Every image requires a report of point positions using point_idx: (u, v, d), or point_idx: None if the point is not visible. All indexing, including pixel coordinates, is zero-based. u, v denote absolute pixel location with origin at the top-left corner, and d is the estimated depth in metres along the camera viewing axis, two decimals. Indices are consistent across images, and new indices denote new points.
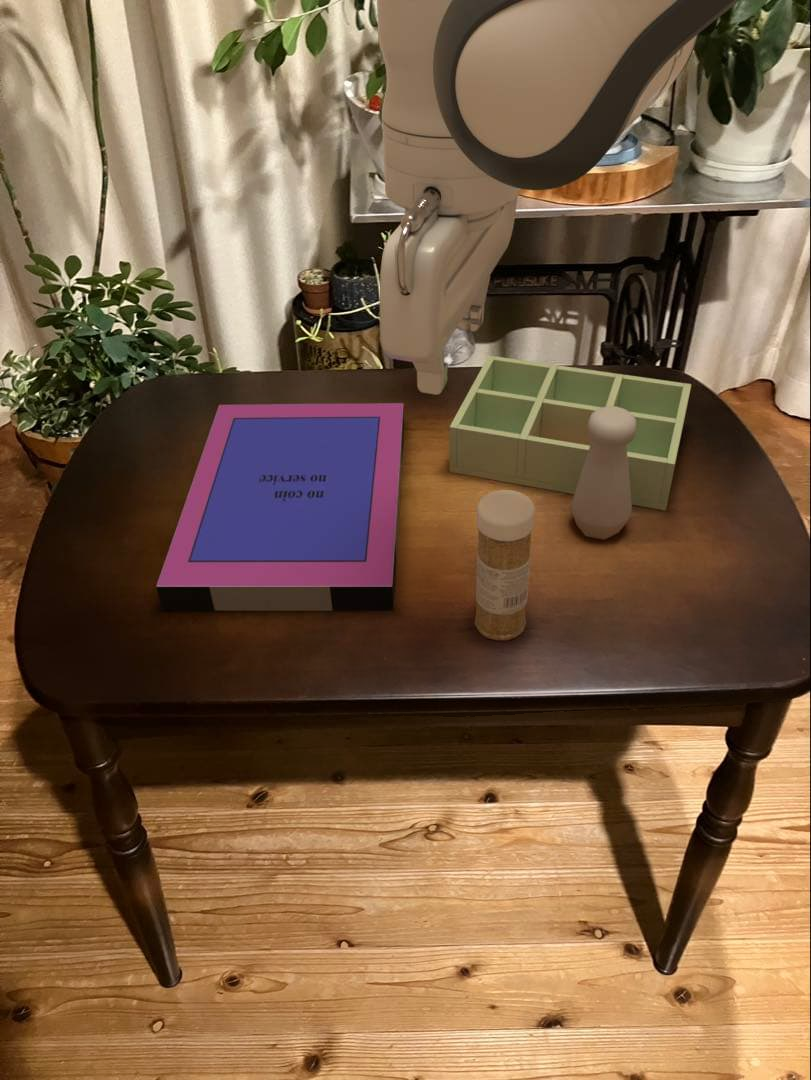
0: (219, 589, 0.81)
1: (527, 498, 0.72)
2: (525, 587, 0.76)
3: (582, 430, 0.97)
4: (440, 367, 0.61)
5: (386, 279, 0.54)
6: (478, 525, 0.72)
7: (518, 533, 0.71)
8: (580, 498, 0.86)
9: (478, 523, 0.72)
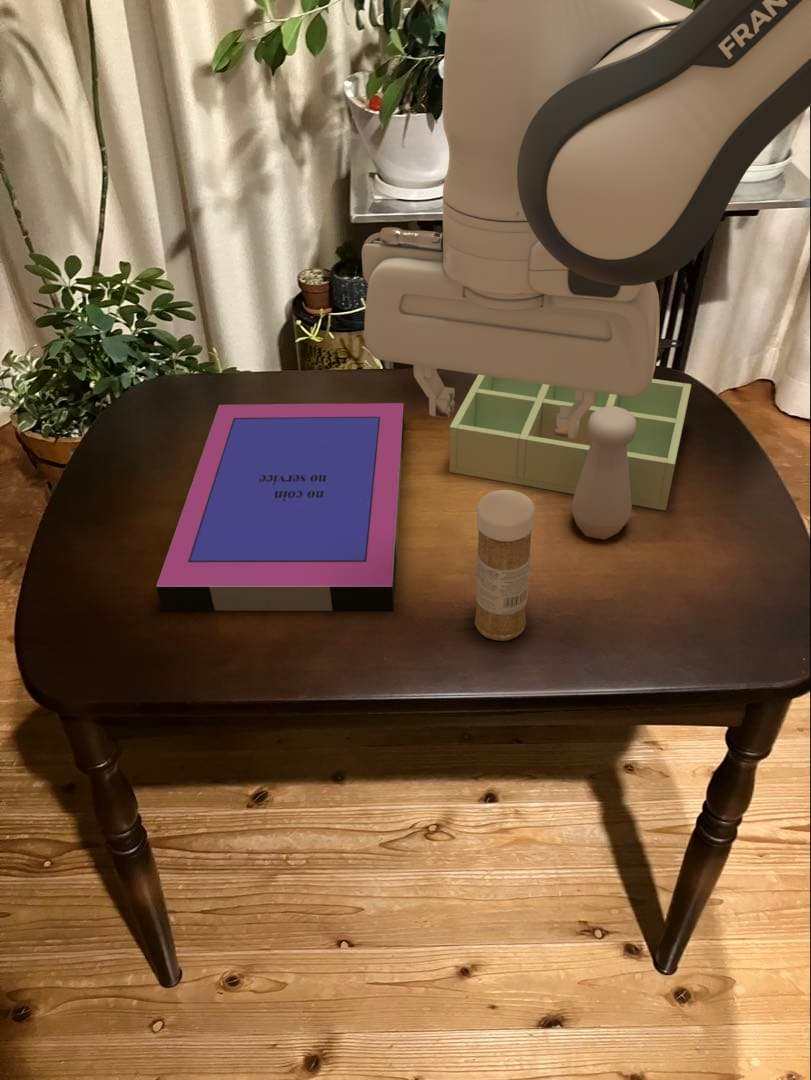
0: (219, 589, 0.81)
1: (527, 498, 0.72)
2: (525, 587, 0.76)
3: (582, 430, 0.97)
4: (423, 389, 0.66)
5: None
6: (478, 525, 0.72)
7: (518, 533, 0.71)
8: (580, 498, 0.86)
9: (478, 523, 0.72)
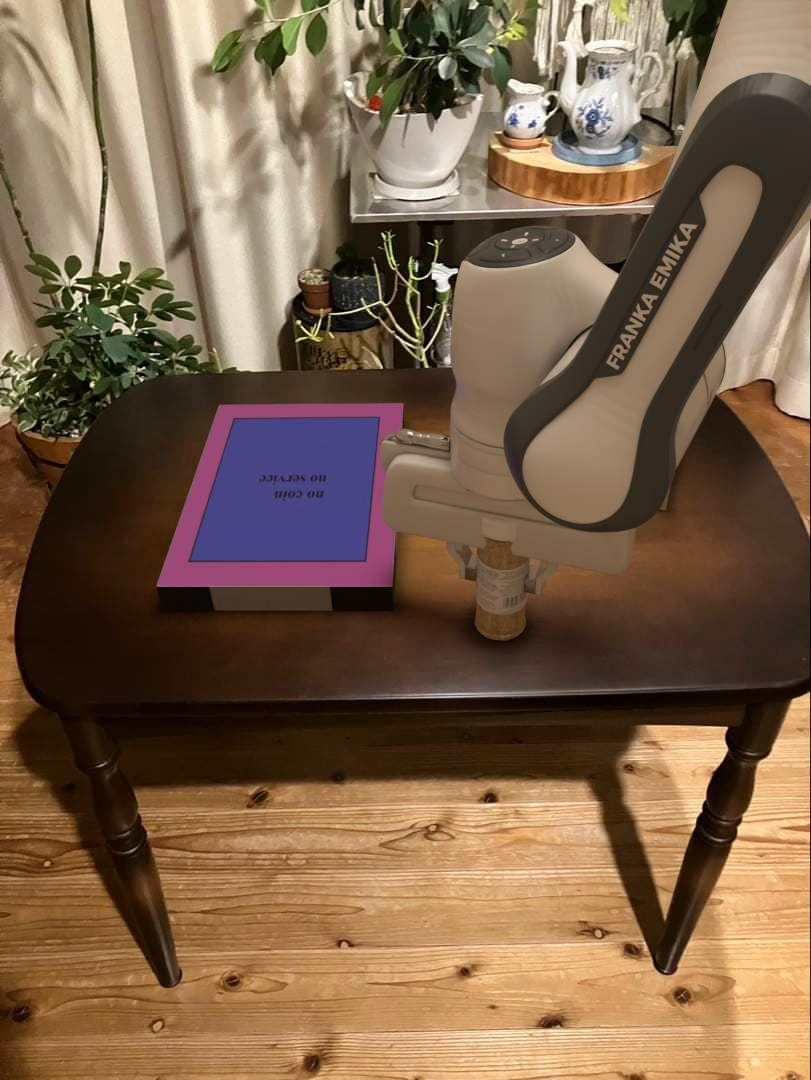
0: (219, 589, 0.81)
1: None
2: None
3: None
4: (454, 558, 0.76)
5: None
6: None
7: None
8: None
9: None
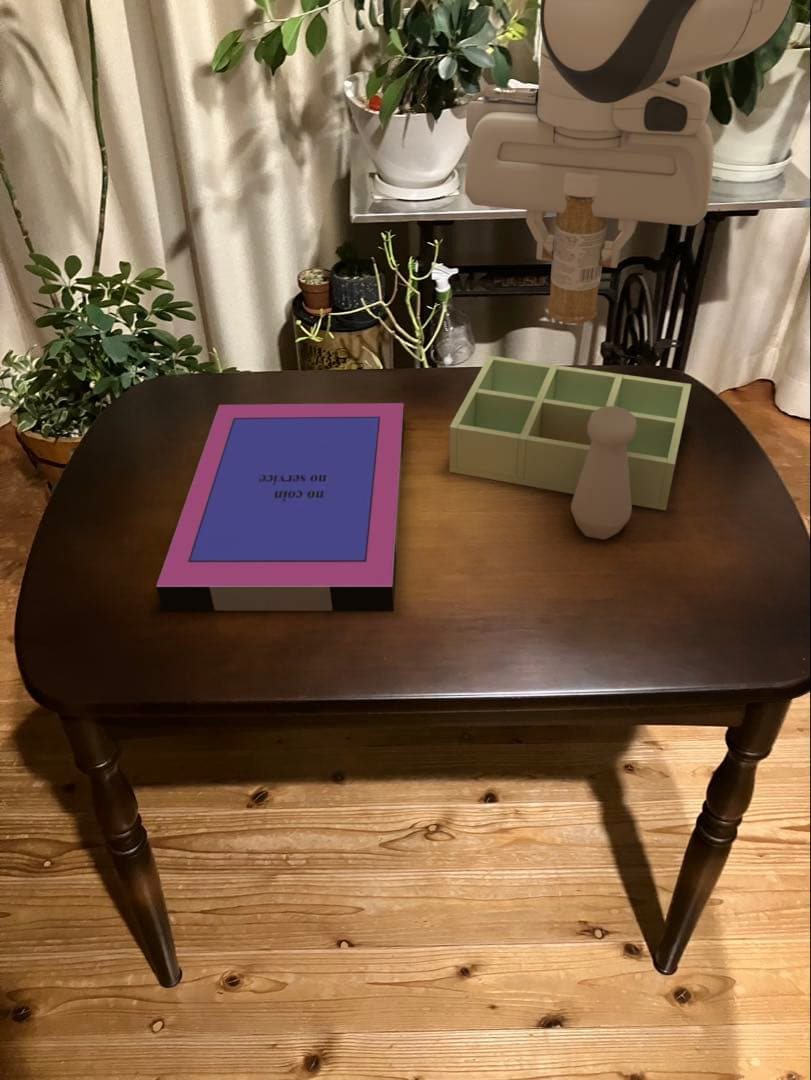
0: (219, 589, 0.81)
1: None
2: None
3: (582, 430, 0.97)
4: (533, 233, 0.79)
5: None
6: None
7: None
8: (580, 498, 0.86)
9: None
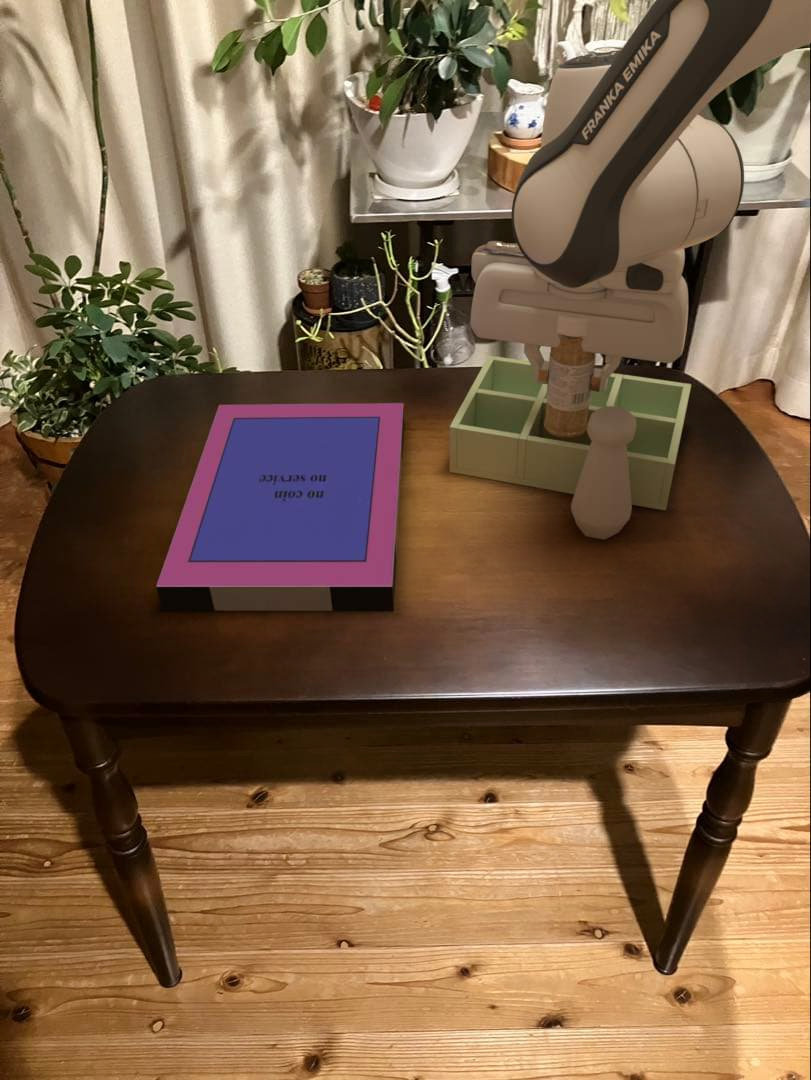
0: (219, 589, 0.81)
1: None
2: None
3: None
4: (530, 362, 0.89)
5: None
6: None
7: None
8: (580, 498, 0.86)
9: None
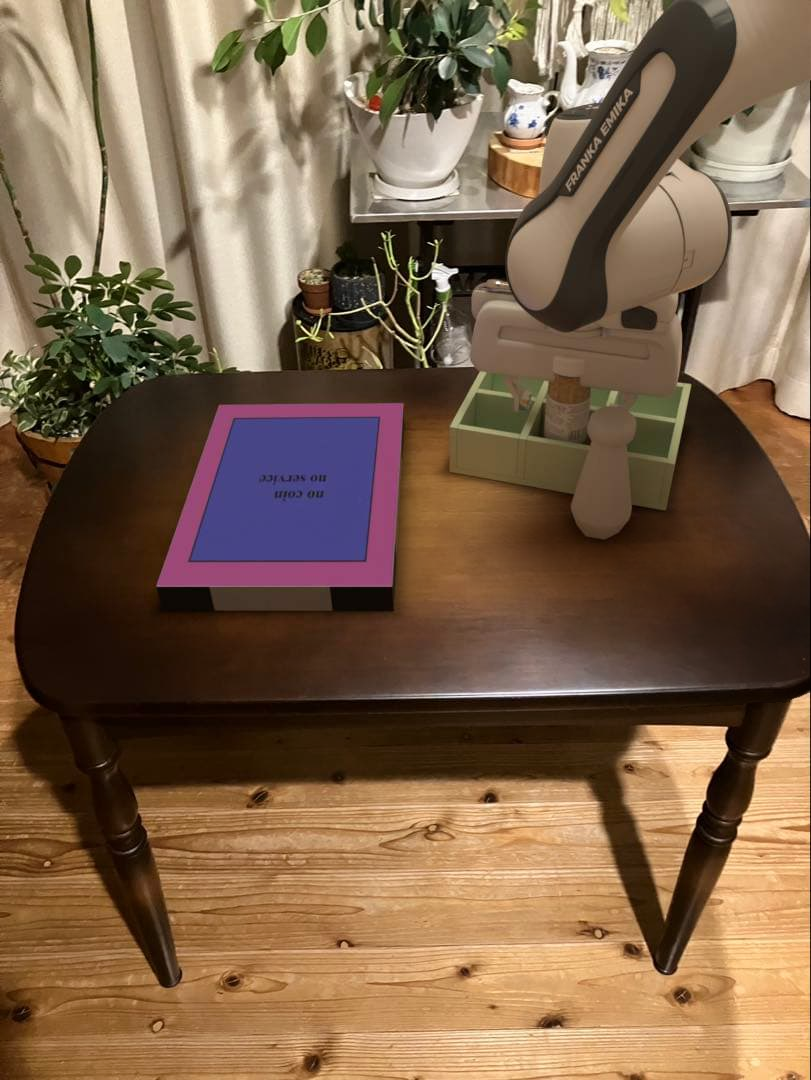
0: (219, 589, 0.81)
1: None
2: (586, 422, 0.92)
3: None
4: (510, 392, 0.92)
5: None
6: None
7: (584, 369, 0.87)
8: (580, 498, 0.86)
9: None
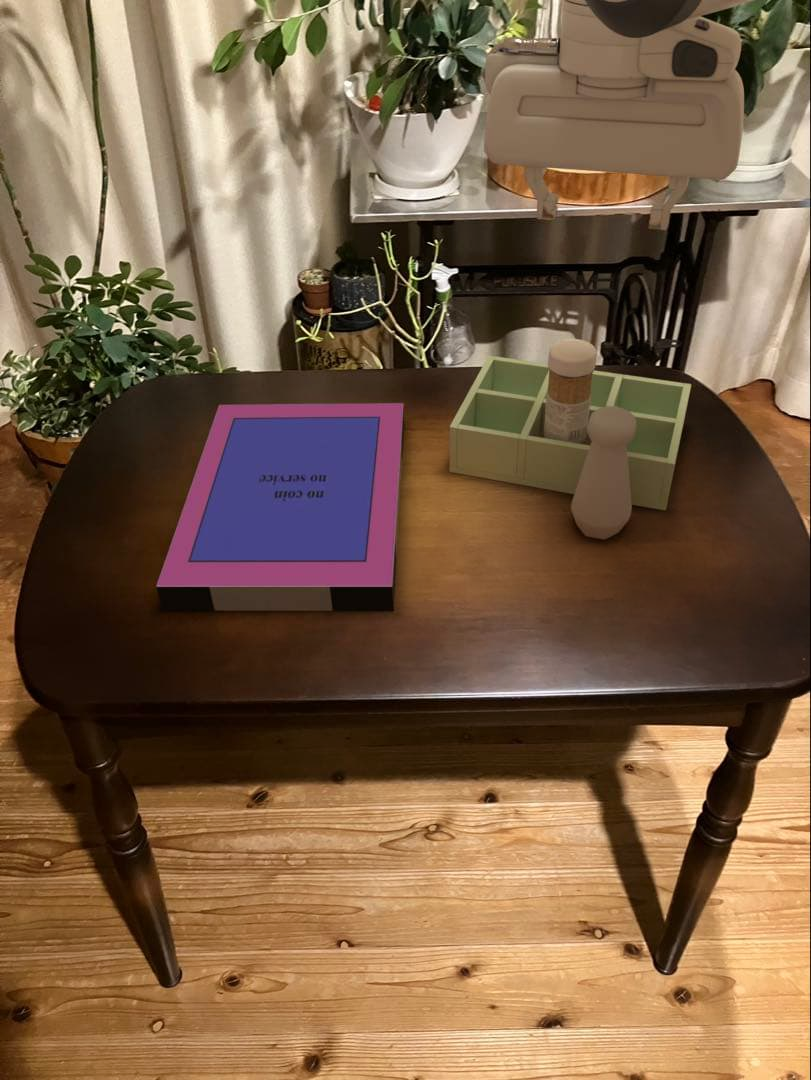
0: (219, 589, 0.81)
1: (589, 344, 0.89)
2: (586, 422, 0.92)
3: None
4: (533, 191, 0.77)
5: None
6: (550, 365, 0.89)
7: (584, 369, 0.87)
8: (580, 498, 0.86)
9: (550, 364, 0.88)
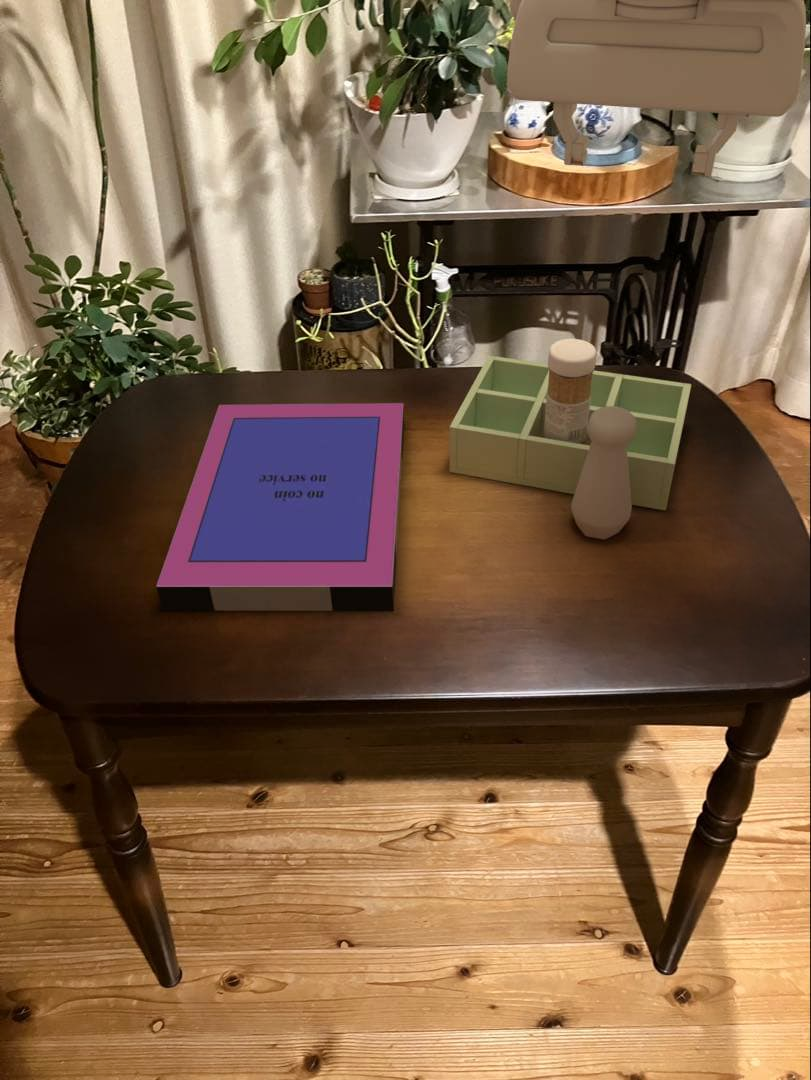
0: (219, 589, 0.81)
1: (589, 344, 0.89)
2: (586, 422, 0.92)
3: None
4: (561, 132, 0.68)
5: None
6: (550, 365, 0.89)
7: (584, 369, 0.87)
8: (580, 498, 0.86)
9: (550, 364, 0.88)
